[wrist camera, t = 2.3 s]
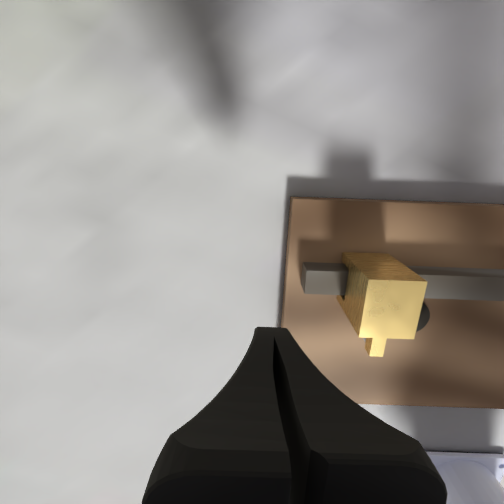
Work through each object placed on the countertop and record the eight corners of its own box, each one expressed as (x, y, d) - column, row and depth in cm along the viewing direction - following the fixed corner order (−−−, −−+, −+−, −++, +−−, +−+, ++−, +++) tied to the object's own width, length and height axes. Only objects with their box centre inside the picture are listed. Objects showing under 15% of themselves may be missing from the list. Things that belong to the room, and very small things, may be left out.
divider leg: (375, 321, 21) (407, 365, 16) (333, 320, 21) (354, 363, 16) (388, 253, 19) (427, 281, 15) (342, 252, 19) (368, 279, 15)
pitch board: (526, 398, 25) (623, 484, 18) (276, 389, 25) (283, 472, 18) (602, 208, 20) (772, 232, 13) (290, 196, 20) (308, 215, 13)
